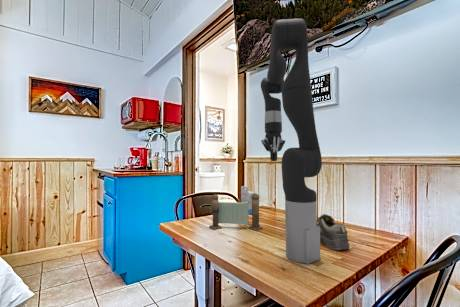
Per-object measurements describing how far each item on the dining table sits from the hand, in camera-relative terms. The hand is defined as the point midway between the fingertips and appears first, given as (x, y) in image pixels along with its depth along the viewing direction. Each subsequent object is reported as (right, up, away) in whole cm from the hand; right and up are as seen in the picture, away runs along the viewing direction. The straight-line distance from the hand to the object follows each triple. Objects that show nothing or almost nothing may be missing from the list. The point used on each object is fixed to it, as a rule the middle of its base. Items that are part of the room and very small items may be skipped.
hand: (273, 161), depth 112 cm
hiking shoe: (+15, -29, -21) cm, 39 cm away
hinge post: (-9, -29, -4) cm, 30 cm away
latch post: (-26, -29, -3) cm, 39 cm away
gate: (-19, -28, -2) cm, 34 cm away
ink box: (-9, -30, +27) cm, 41 cm away
